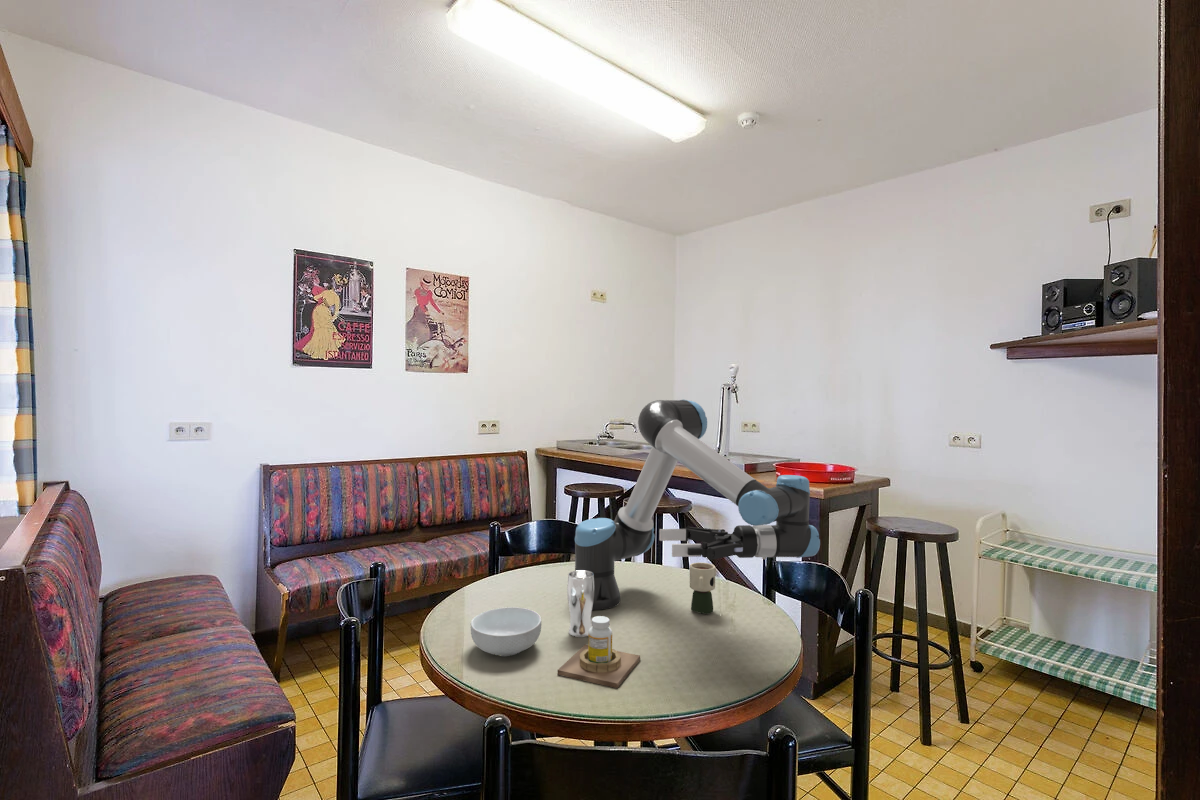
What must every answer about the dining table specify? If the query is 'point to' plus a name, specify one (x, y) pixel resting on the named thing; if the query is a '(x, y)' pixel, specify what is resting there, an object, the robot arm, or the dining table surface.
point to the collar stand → (600, 668)
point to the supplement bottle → (600, 640)
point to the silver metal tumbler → (580, 601)
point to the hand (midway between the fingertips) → (665, 542)
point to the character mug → (702, 587)
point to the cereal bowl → (506, 630)
